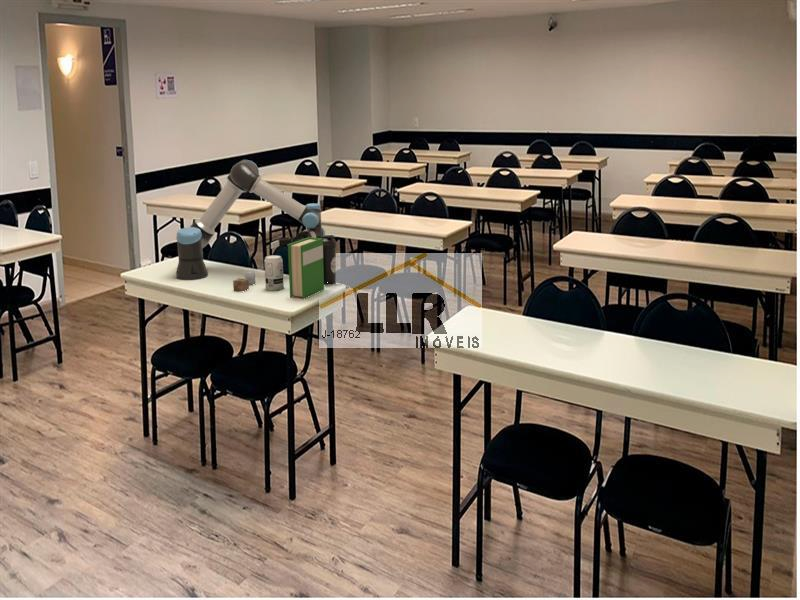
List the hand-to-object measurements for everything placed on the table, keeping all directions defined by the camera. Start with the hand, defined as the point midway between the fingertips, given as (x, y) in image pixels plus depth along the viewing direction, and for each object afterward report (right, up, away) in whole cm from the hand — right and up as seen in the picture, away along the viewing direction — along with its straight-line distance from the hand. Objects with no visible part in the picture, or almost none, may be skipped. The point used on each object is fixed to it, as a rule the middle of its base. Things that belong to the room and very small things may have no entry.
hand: (284, 246), depth 349 cm
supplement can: (-4, -20, -4) cm, 21 cm away
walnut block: (-19, -21, -7) cm, 29 cm away
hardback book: (+12, -22, -12) cm, 28 cm away
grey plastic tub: (-17, -18, +4) cm, 25 cm away
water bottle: (+19, -17, +6) cm, 27 cm away
